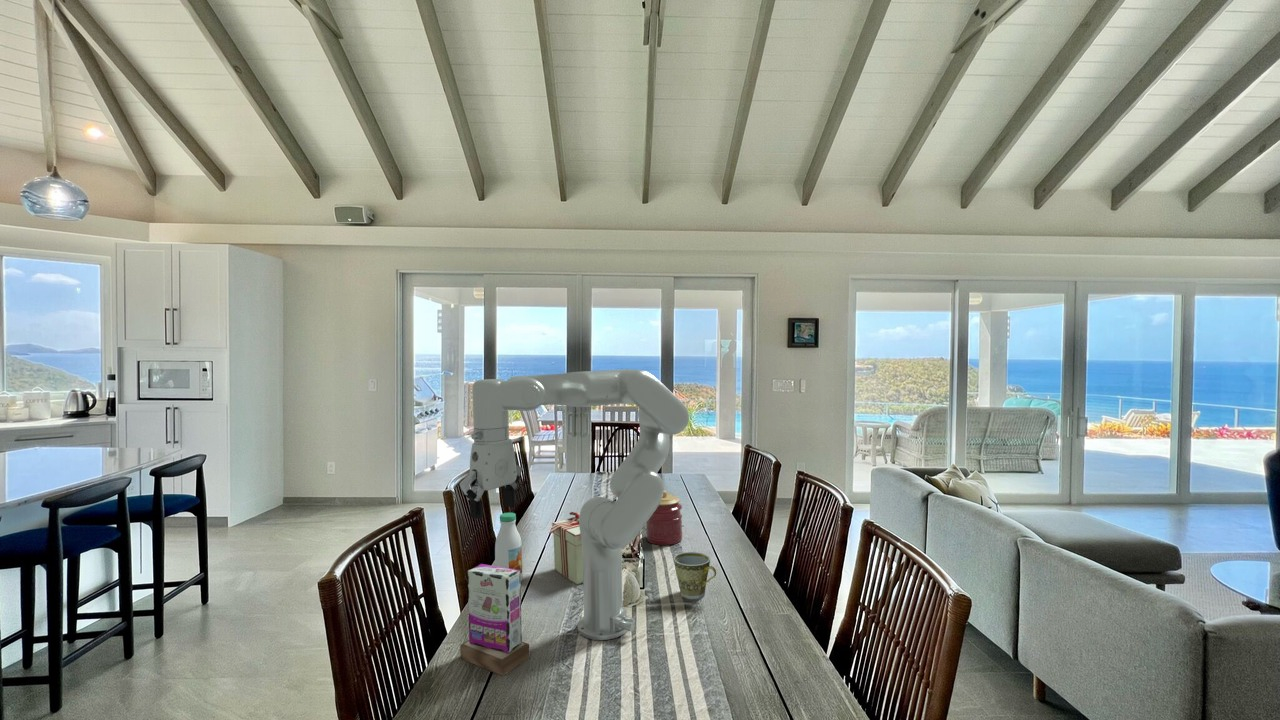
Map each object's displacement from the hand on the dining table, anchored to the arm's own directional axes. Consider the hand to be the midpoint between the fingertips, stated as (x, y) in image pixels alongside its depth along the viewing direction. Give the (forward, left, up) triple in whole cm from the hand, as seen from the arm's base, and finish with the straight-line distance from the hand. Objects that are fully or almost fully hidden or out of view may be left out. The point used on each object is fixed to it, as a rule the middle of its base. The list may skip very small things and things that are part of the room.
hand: (493, 512), depth 122 cm
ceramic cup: (-25, -49, -33) cm, 64 cm away
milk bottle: (+27, -30, -33) cm, 52 cm away
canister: (+5, -84, -33) cm, 90 cm away
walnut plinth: (0, +1, -32) cm, 32 cm away
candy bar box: (0, 0, -29) cm, 29 cm away
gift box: (+12, -46, -33) cm, 58 cm away
